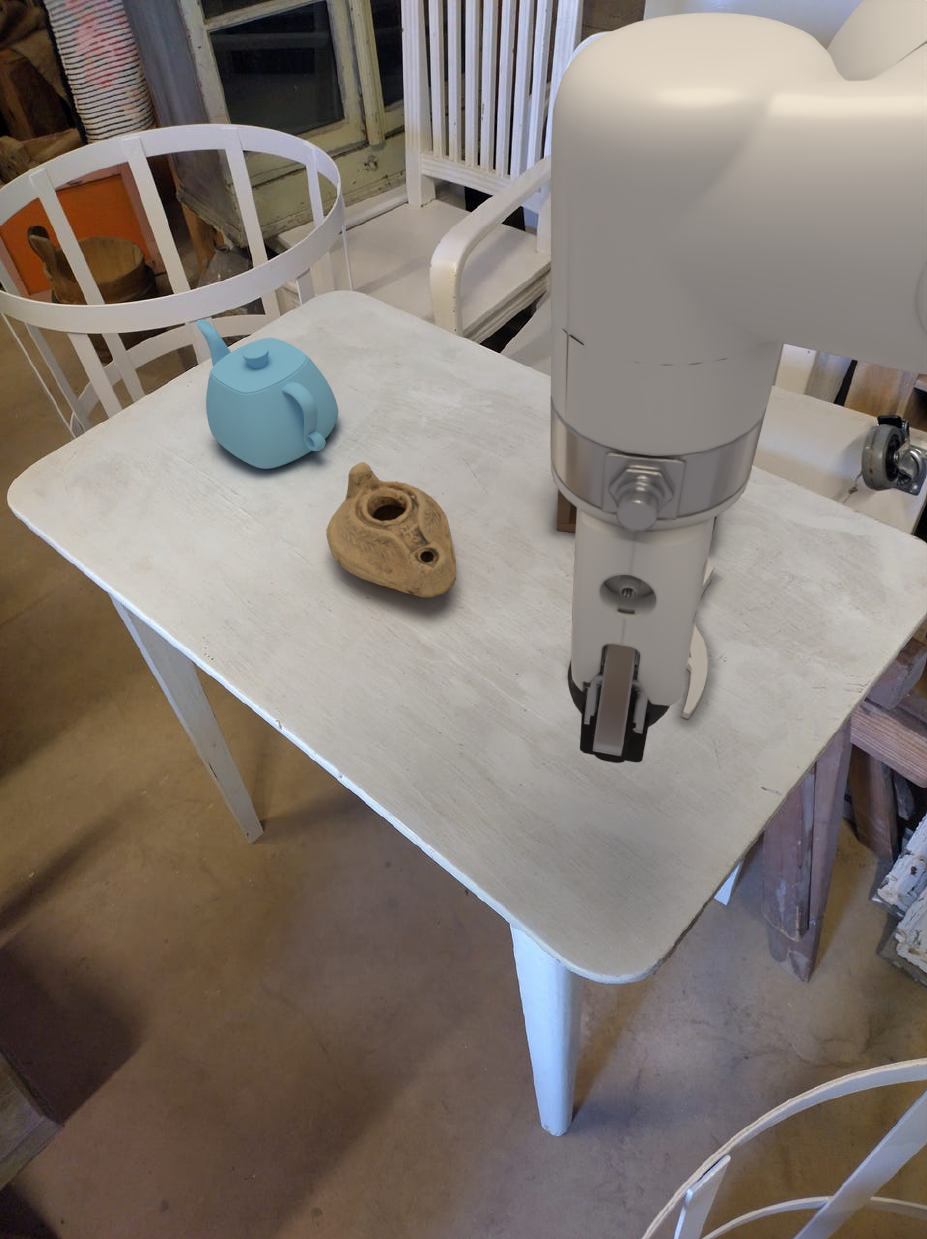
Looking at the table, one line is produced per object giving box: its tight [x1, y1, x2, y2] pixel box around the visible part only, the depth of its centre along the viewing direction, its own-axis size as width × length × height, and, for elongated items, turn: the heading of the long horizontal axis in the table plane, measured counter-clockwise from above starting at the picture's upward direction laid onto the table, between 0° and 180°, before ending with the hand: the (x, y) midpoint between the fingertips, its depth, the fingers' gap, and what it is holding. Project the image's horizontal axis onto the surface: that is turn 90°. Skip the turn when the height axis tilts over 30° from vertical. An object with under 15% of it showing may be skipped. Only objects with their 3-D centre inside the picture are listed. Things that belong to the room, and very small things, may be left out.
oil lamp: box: [325, 461, 457, 598], centre depth 72 cm, size 11×15×8 cm
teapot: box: [196, 319, 339, 470], centre depth 85 cm, size 13×11×18 cm
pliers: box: [681, 563, 715, 720], centre depth 68 cm, size 10×2×15 cm
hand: (619, 700), depth 44 cm, fingers closed on light bulb, 5 cm apart
